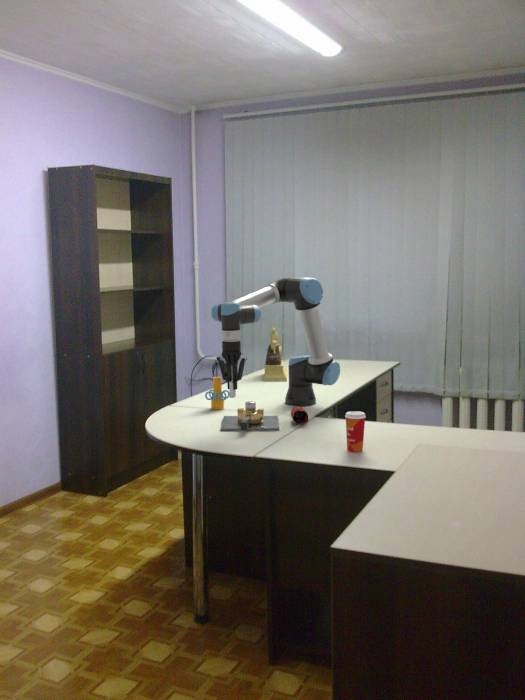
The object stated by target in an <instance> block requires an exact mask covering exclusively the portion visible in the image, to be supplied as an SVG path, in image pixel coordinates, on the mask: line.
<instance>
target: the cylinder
mask: <svg viewBox="0 0 525 700" xmlns="http://www.w3.org/2000/svg"><path fill="white" fill-rule="evenodd" d="M222 381H223V378H222V376H213V377H212V389H211V388H210V389H209V390H208V391H206V392H205V395H204V397H205V399H206V400H207V401H210V404H211V405H210V409H211V410H214V411H215V410H217V411H218V410H219V411H220V410H223V409H225V400H227V399H228V398H230V390H229V389H228V390H227V389H224V390H222V389H223V388H222V387H223V386H222V384H223V383H222ZM226 392H227V393H226ZM207 395H208V396H209V398H208V396H207Z"/></svg>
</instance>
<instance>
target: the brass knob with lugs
mask: <svg viewBox="0 0 525 700" xmlns="http://www.w3.org/2000/svg"><path fill="white" fill-rule="evenodd" d="M236 411H237V416H238V423H241V431H240V432H248V431H247V430H248V428H249V426H250V425H251V424H260V423H263V416H264V412H265V411H264V408H257V409H256V412H253V413H252V411H246V412H245V407H243V408H240V407H238V408H237V409H236Z"/></svg>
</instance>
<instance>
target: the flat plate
mask: <svg viewBox="0 0 525 700" xmlns="http://www.w3.org/2000/svg"><path fill="white" fill-rule="evenodd" d="M244 404H245V405H244V406H245V407H244V410H245V412H246V411H252V413H253V412H256V410H257V407H256V401H252V400H251V401H245V403H244ZM220 428H221V429H220V432H242V431H241V423H238V415H224V416H223V418H222V422H221V427H220ZM279 431H280V421H279V415H263V423H260V424H251V425H250V426H249V428H248V430H247V431H246V432H279Z"/></svg>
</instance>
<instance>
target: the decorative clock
mask: <svg viewBox="0 0 525 700" xmlns="http://www.w3.org/2000/svg"><path fill="white" fill-rule="evenodd" d="M270 329H271V330H270V331H271V332H270V334H269V338H270V341H269V342H270V344H269V345H268V347H267V349H266V357H265V361H264V362H265V363H264V382H288V381H287V380H288V370H287V368H285V365H284V360H282V354H283V353H282V351H283V350H282V349H283V348H282V346H280V344H279V341H280V340H279V334H278V332H277V331H276V328H275V327H271V328H270Z"/></svg>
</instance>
